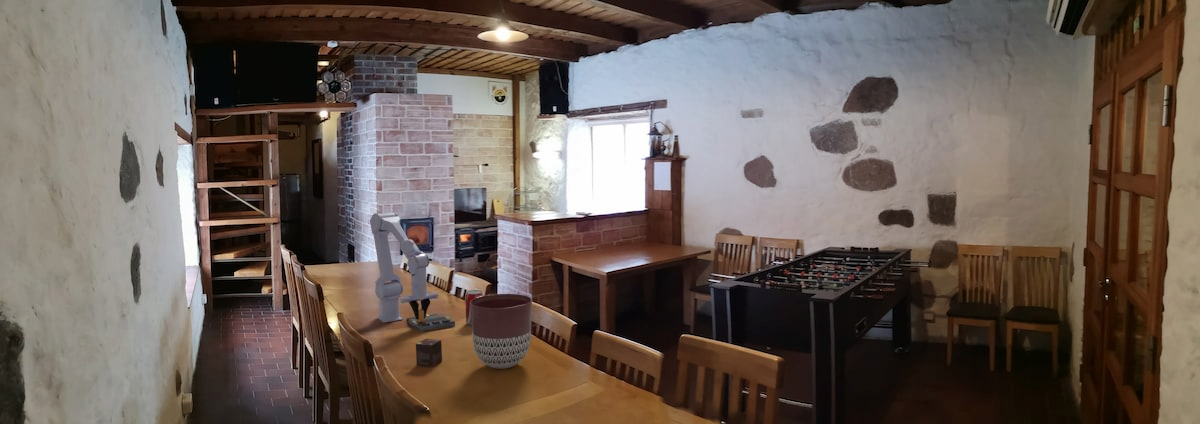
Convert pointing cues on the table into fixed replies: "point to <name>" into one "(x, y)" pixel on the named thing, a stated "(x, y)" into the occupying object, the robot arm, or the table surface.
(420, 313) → the breaker lever
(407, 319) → the twin grey rollers
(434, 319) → the panel
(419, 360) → the box
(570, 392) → the table surface
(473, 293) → the soda can
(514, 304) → the planter
